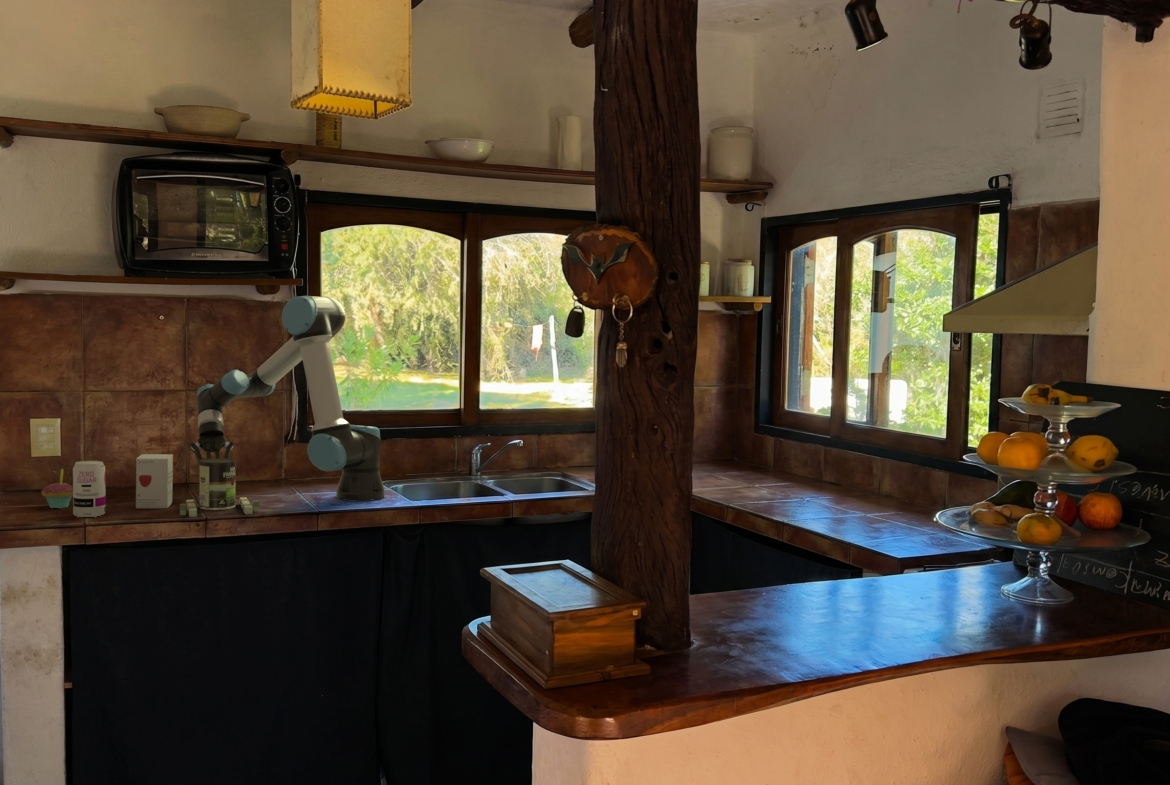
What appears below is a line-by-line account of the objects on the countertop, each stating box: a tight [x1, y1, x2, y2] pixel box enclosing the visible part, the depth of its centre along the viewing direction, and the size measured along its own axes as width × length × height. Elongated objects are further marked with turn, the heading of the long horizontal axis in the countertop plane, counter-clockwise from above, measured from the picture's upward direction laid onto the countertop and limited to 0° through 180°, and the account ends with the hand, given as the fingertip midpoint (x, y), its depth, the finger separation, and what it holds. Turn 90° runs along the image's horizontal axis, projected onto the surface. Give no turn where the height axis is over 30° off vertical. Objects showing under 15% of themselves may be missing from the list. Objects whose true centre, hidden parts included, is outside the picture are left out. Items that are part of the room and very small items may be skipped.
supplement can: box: [72, 460, 107, 518], centre depth 287 cm, size 8×8×15 cm
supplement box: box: [135, 453, 174, 509], centre depth 303 cm, size 9×9×15 cm
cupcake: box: [40, 466, 73, 509], centre depth 297 cm, size 9×8×12 cm
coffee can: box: [198, 457, 237, 511], centre depth 304 cm, size 10×10×14 cm
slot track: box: [179, 496, 260, 518], centre depth 300 cm, size 16×22×3 cm
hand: (214, 488), depth 312 cm, fingers closed
